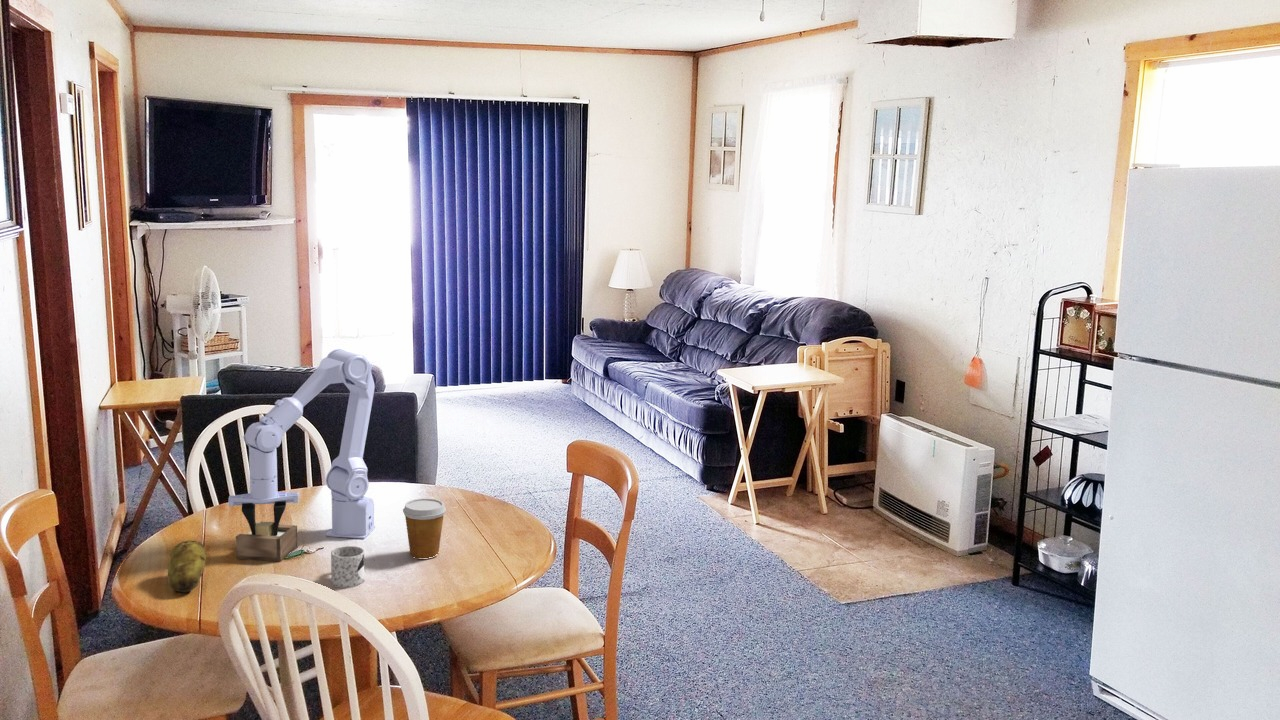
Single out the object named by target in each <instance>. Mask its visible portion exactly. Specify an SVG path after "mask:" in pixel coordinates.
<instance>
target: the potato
mask: <svg viewBox="0 0 1280 720" xmlns="http://www.w3.org/2000/svg"><path fill="white" fill-rule="evenodd" d="M206 561H207V554H206V552H205V547H204V545H203V543H202V542H199V541H197V540H191V539H190V540H185V541H181V542H179V543H178V544H176V546H175V547H174V548H173V549H172V551H171V553H170V556H169V560H168V565H167V581H168V584H169V586H170V587H171V589H173V590H174V591H177V592H181V593H187V592H191V591H192V590H194V589H195V588H196V587H197V586H198V585H199V584H200V579H201V578H202V576H203V574H204V571H205V565H206Z"/></svg>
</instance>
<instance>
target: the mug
mask: <svg viewBox="0 0 1280 720" xmlns="http://www.w3.org/2000/svg"><path fill="white" fill-rule="evenodd" d="M330 559H331V560H330V568H331V569H330V570H331V575H330V576H331V585H332V586H333V587H335V586H336V588H339V587H340V588H341V589H350V588H355V587H359V586H360V584H361V585H362V584H364V582H365V550H364V548H363V547H361V546H355V545H354V546H353V545H348V546H347V545H346V546H341V547H336V548H334V549H333V550H331V553H330ZM358 585H359V586H358ZM349 587H350V588H349ZM340 588H339V589H340Z"/></svg>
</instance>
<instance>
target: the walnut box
mask: <svg viewBox="0 0 1280 720" xmlns="http://www.w3.org/2000/svg"><path fill="white" fill-rule="evenodd" d="M258 523H259V522H256V525H257V524H258ZM278 531H286V532H285V533H284V534H282V535H281V536H265V535H249V534H248V533H247V534H246V533H245V534H244V533H239V534H237V535H236V536H235V549H236V550H235V552H236V553H235V554H236V556H235V557H236V560H245V559H255V560H254V561H261V560H262V562H263V561H265V562H276V563H277V562H280V563H281V562H282V561H283V560H285V559H286V558H287V557H288V556H289V555H290V554H291V553H293V552H294V551H295V550H296V549H298V525H291V524H279V525H278ZM292 551H293V552H292ZM290 552H291V553H290ZM289 553H290V554H289ZM288 554H289V555H288ZM287 555H288V556H287ZM286 556H287V557H286Z"/></svg>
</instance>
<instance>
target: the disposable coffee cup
mask: <svg viewBox="0 0 1280 720" xmlns="http://www.w3.org/2000/svg"><path fill="white" fill-rule="evenodd" d="M402 512H403V514H404V517H405V524H406V525H405V526H406V532H407V540H408V547H409V548H408V549H409V554H410V555H411V556H412V557H415V558H429V557H433V556H435V555H436V554H438V555H439V553H438V552H439V551H440V545H441V537H442V530H443V522H444V515H445V512H447V508H446V506H445V503H444V502H443V501H442V500H440V499H436V498H417V499H412V500H409V501H407V502H406V503H405V505H404V508H403V509H402ZM411 556H410V557H411ZM415 558H414V559H415Z"/></svg>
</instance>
